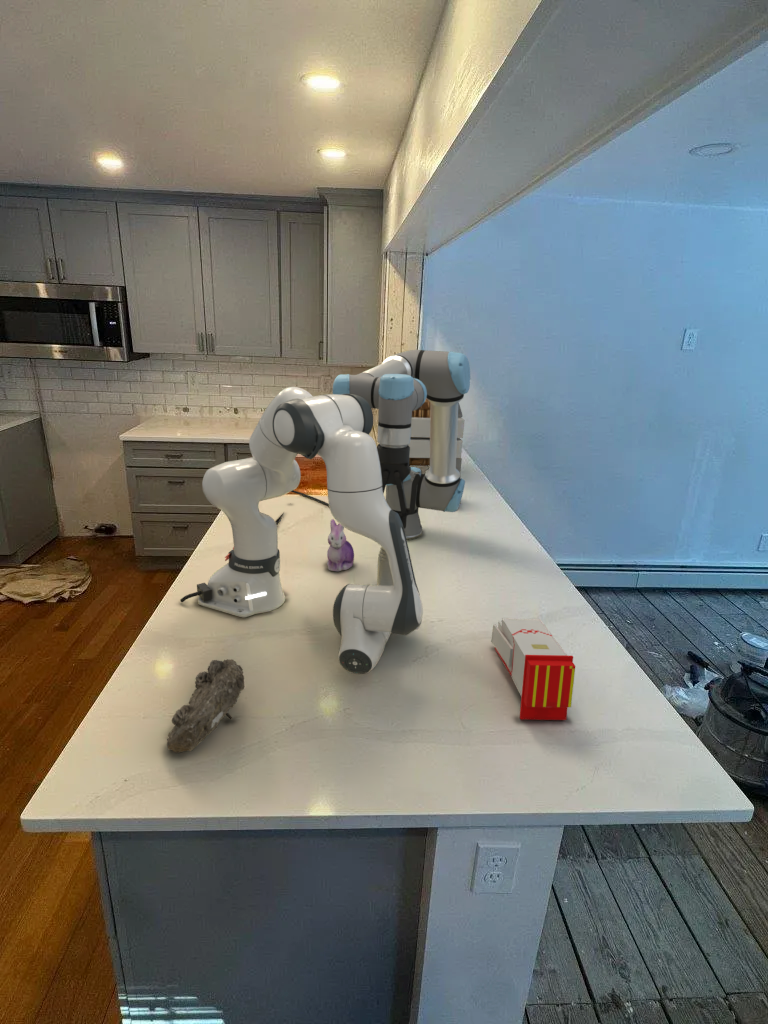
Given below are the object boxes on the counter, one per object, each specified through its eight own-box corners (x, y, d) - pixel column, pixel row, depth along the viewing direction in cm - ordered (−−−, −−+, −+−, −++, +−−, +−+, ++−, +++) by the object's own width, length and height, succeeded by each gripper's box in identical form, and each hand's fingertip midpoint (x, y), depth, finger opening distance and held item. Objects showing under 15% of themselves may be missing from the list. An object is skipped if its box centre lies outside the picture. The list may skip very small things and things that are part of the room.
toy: (537, 603, 136) (584, 662, 106) (532, 655, 138) (577, 726, 109) (487, 602, 135) (520, 661, 106) (483, 654, 138) (514, 725, 109)
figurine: (332, 575, 167) (332, 527, 162) (319, 561, 175) (319, 516, 170) (361, 569, 171) (362, 523, 166) (347, 556, 179) (348, 512, 174)
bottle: (391, 614, 147) (396, 530, 139) (396, 624, 143) (401, 538, 135) (373, 616, 146) (376, 531, 138) (377, 626, 141) (381, 539, 133)
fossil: (192, 660, 117) (244, 628, 112) (224, 691, 120) (276, 661, 115) (142, 746, 98) (202, 712, 93) (182, 779, 101) (242, 748, 96)
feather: (291, 507, 225) (293, 503, 224) (273, 530, 198) (276, 526, 198) (287, 504, 224) (289, 500, 224) (269, 528, 198) (272, 523, 197)
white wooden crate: (382, 463, 289) (386, 382, 275) (445, 464, 293) (451, 384, 279) (390, 482, 257) (394, 392, 243) (460, 483, 261) (468, 394, 247)
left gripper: (419, 619, 127) (428, 591, 140) (331, 605, 131) (348, 579, 144) (417, 643, 129) (426, 613, 142) (331, 629, 133) (348, 601, 146)
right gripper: (432, 443, 131) (425, 536, 139) (358, 438, 133) (356, 530, 141) (430, 450, 124) (423, 548, 132) (353, 445, 126) (351, 542, 134)
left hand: (386, 596), depth 143 cm, fingers closed on bottle, 5 cm apart
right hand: (388, 539), depth 137 cm, fingers closed on cap, 4 cm apart
